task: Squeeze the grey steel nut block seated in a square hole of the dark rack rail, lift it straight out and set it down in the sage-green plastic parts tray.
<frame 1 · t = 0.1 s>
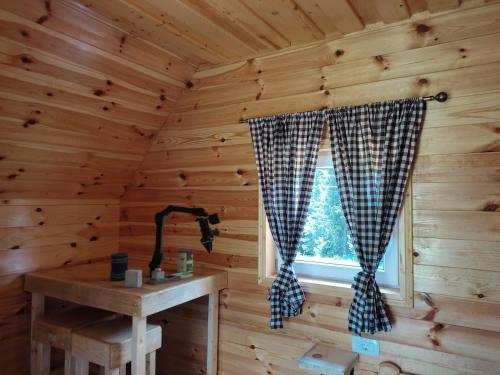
hand: (210, 251, 225), 15 cm above the table, tool pointing down, fingers open, 9 cm apart
medicine box: (133, 286, 199), on the table
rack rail: (163, 281, 212), on the table
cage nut: (157, 282, 209), resting in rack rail
coffee can: (184, 271, 242), on the table
parts tray: (182, 276, 225), on the table
storage jar: (119, 280, 216), on the table
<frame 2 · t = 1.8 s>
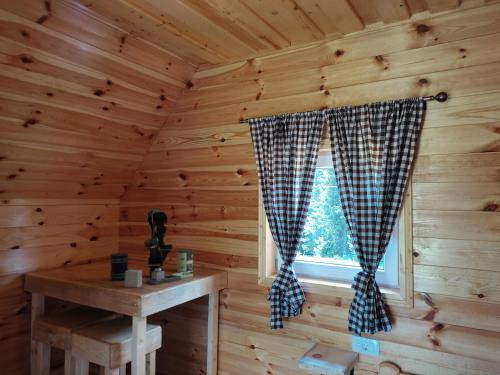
hand: (158, 260, 210), 12 cm above the table, tool pointing down, fingers open, 9 cm apart
nothing on the table moved.
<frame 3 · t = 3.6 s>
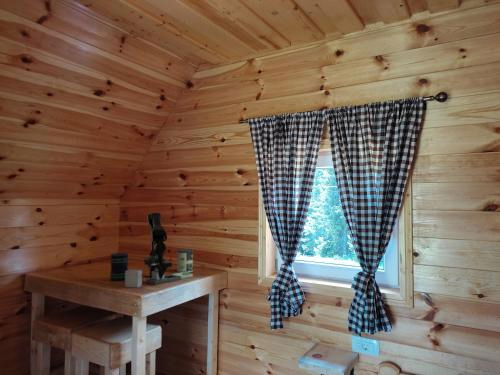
hand: (158, 278, 209), 3 cm above the table, tool pointing down, fingers closed on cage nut, 5 cm apart
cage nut: (157, 282, 209), resting in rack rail, touching gripper
everything else where it was.
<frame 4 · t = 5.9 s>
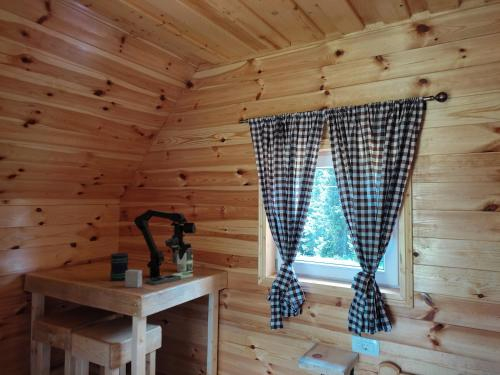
hand: (178, 259, 222), 11 cm above the table, tool pointing down, fingers closed on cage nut, 5 cm apart
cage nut: (178, 263, 222), point 9 cm above the table, touching gripper
everything else where it was.
when the fingers open (4 cm above the table, at t = 8.2 s): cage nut drops 1 cm, resting on parts tray.
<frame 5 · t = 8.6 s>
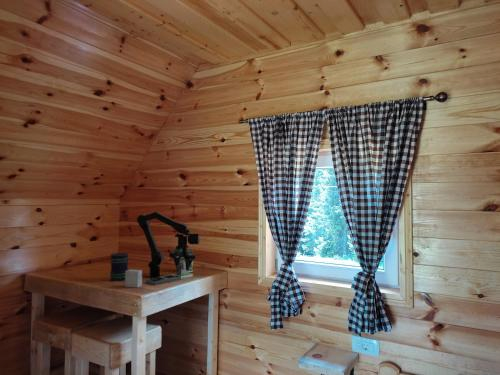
hand: (182, 269, 225), 4 cm above the table, tool pointing down, fingers open, 9 cm apart
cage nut: (182, 276, 225), resting on parts tray
everything else where it was.
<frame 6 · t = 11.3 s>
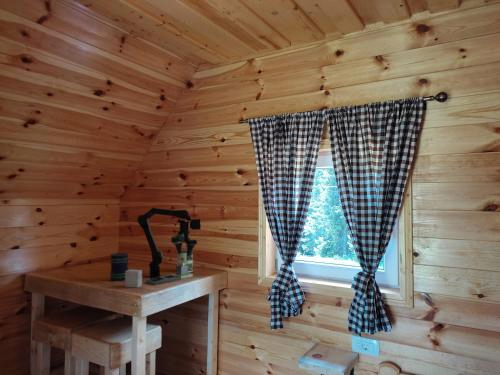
hand: (183, 255, 227), 13 cm above the table, tool pointing down, fingers open, 9 cm apart
nothing on the table moved.
at the end: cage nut inside the target area on the parts tray (0.0 cm from its centre), point 0.4 cm above the parts tray's base; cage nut touching parts tray; the gripper is holding nothing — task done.
